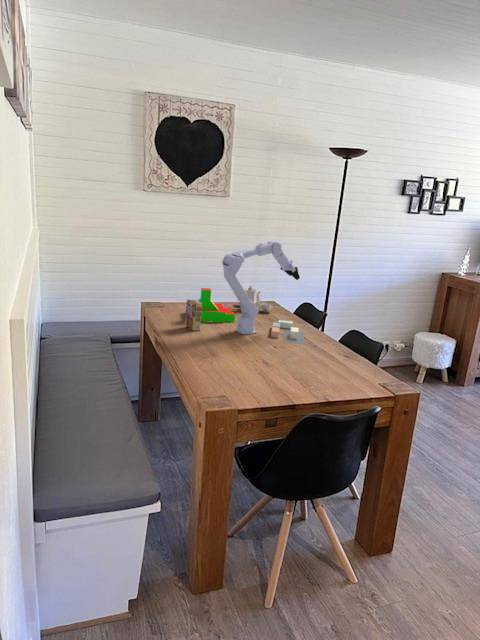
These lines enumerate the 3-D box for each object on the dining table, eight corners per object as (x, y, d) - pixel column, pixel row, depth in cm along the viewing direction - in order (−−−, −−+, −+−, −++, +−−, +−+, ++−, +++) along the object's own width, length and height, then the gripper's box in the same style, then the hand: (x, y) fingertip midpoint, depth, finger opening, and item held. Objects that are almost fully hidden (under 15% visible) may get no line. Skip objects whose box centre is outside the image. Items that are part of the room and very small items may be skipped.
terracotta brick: (278, 339, 249) (279, 332, 248) (270, 338, 249) (271, 331, 248) (278, 334, 257) (279, 327, 256) (271, 334, 257) (272, 327, 256)
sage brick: (292, 328, 271) (292, 321, 270) (292, 330, 267) (292, 323, 266) (278, 326, 272) (278, 320, 271) (277, 328, 268) (278, 321, 267)
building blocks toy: (234, 323, 271) (237, 292, 266) (190, 322, 267) (192, 290, 262) (230, 314, 289) (232, 285, 284) (189, 313, 285) (190, 283, 280)
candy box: (200, 330, 252) (202, 302, 248) (194, 331, 249) (195, 303, 245) (191, 326, 258) (193, 298, 254) (184, 327, 256) (186, 299, 252)
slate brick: (279, 333, 258) (279, 326, 257) (271, 333, 259) (272, 326, 258) (279, 329, 266) (280, 323, 265) (272, 329, 266) (273, 322, 265)
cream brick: (297, 339, 249) (298, 332, 248) (290, 338, 249) (290, 331, 248) (297, 334, 257) (298, 327, 256) (290, 334, 257) (291, 327, 256)
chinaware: (276, 314, 304) (280, 289, 301) (263, 316, 290) (268, 289, 287) (239, 306, 318) (242, 281, 315) (225, 307, 304) (229, 282, 301)
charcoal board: (304, 345, 242) (304, 344, 242) (282, 342, 243) (283, 341, 243) (303, 333, 263) (303, 331, 263) (283, 330, 264) (284, 329, 264)
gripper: (294, 257, 249) (306, 275, 256) (281, 251, 262) (293, 268, 269) (284, 266, 249) (297, 284, 256) (272, 259, 261) (284, 276, 268)
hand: (294, 276), depth 262 cm, fingers open, 7 cm apart
